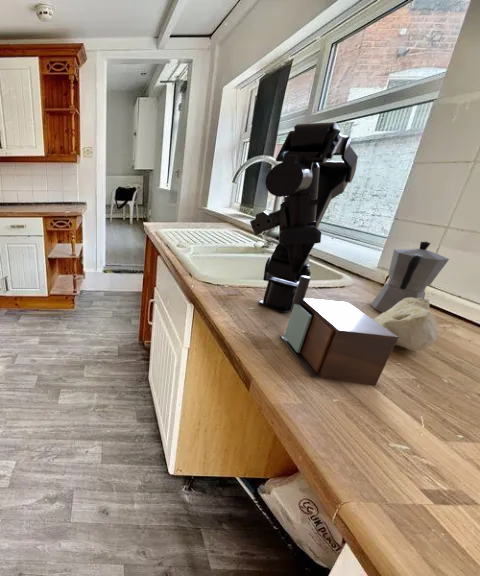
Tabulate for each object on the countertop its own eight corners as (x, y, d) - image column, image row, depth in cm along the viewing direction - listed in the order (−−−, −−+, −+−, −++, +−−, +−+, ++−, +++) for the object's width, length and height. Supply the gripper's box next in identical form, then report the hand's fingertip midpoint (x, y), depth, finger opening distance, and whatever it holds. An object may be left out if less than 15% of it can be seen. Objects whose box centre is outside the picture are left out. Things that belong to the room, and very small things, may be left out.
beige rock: (397, 373, 56) (494, 334, 52) (372, 338, 57) (465, 297, 53) (356, 353, 71) (429, 321, 66) (337, 326, 72) (407, 292, 67)
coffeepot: (376, 299, 85) (403, 234, 78) (423, 311, 78) (457, 242, 71) (362, 313, 76) (392, 241, 69) (414, 328, 69) (453, 251, 62)
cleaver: (280, 335, 62) (299, 274, 57) (288, 336, 62) (308, 275, 57) (293, 352, 56) (315, 286, 51) (302, 353, 56) (326, 287, 51)
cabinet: (280, 336, 63) (293, 296, 59) (331, 342, 61) (347, 302, 58) (311, 376, 51) (329, 329, 47) (375, 385, 49) (399, 337, 46)
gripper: (256, 198, 71) (254, 264, 75) (249, 199, 56) (247, 282, 60) (314, 193, 66) (308, 264, 69) (325, 193, 50) (317, 284, 54)
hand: (294, 273), depth 63 cm, fingers closed
